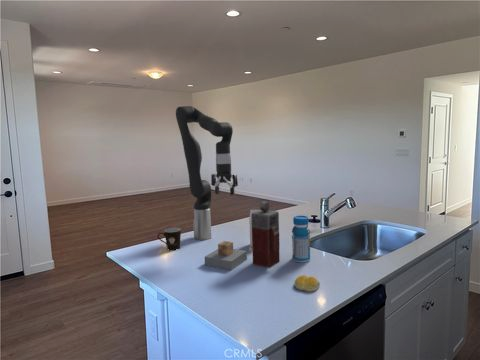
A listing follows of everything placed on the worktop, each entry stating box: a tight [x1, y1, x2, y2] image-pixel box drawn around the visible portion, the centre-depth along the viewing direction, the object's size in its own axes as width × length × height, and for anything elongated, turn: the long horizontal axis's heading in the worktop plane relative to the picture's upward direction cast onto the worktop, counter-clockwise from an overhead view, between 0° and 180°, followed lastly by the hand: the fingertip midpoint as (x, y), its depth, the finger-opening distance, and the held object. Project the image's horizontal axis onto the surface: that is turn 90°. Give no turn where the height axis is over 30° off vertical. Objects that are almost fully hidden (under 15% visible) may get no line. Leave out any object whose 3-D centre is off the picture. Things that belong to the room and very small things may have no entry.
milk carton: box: [248, 209, 261, 248], centre depth 171 cm, size 7×7×19 cm
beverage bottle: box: [291, 214, 312, 263], centre depth 149 cm, size 8×8×20 cm
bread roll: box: [294, 275, 321, 292], centre depth 123 cm, size 8×9×4 cm
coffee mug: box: [157, 227, 182, 251], centre depth 172 cm, size 12×9×10 cm
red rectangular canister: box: [251, 201, 281, 269], centre depth 146 cm, size 9×11×28 cm
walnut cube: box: [217, 240, 234, 256], centre depth 149 cm, size 5×5×5 cm
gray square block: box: [204, 248, 248, 271], centre depth 150 cm, size 14×14×4 cm
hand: (224, 194), depth 166 cm, fingers open, 8 cm apart
